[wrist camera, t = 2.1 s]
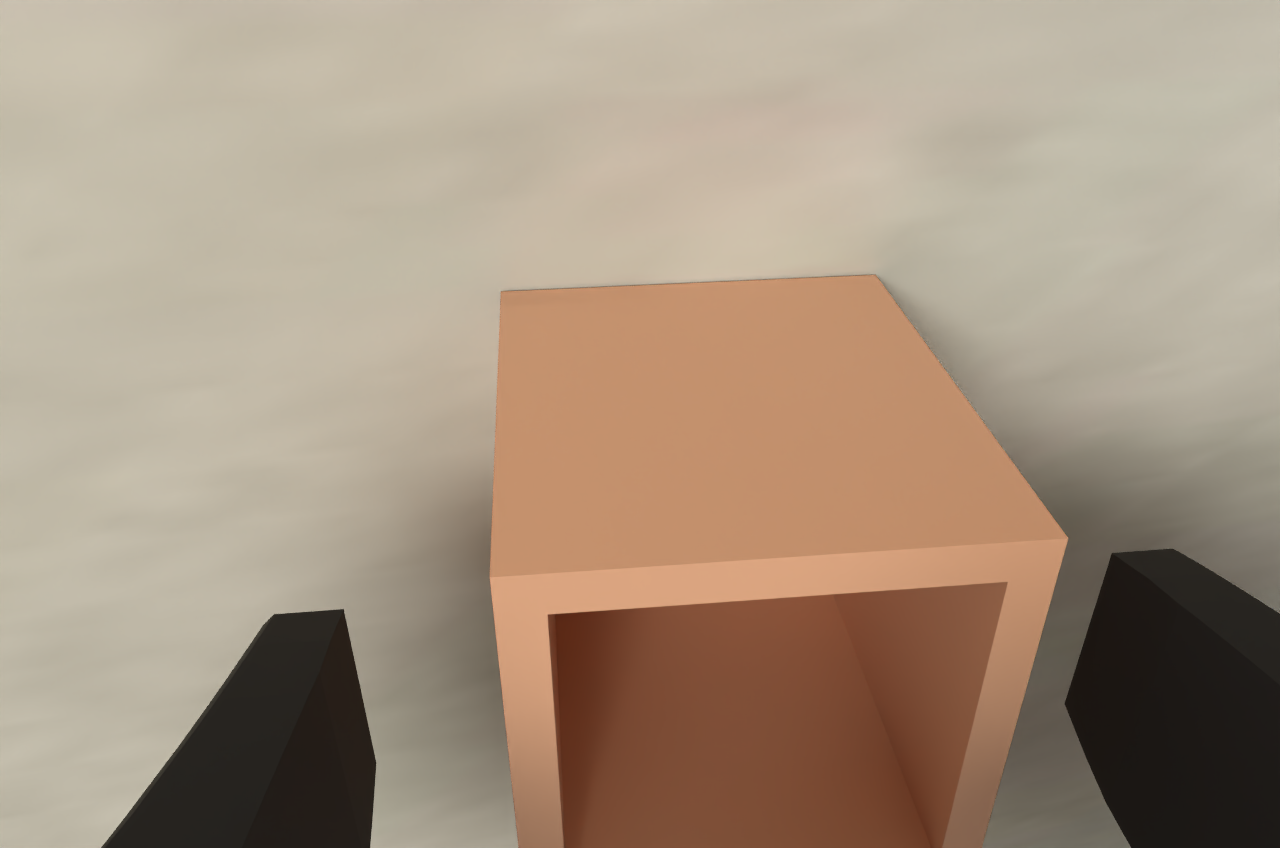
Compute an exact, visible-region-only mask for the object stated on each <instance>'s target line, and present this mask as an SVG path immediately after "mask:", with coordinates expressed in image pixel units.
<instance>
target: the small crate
mask: <svg viewBox="0 0 1280 848" xmlns="http://www.w3.org/2000/svg"><path fill="white" fill-rule="evenodd" d="M1067 541H1068V537H1067V536H1066V534H1065V533H1064V532H1063V530H1062V529H1061V528H1060V526H1059V525H1058V524H1057V522H1056V521H1055V519H1054V518H1053V517H1052V515H1051V514H1050V513H1049V511H1048V510H1047V508H1046V507H1045V506H1044V504H1043V503H1042V502H1041V500H1040V499H1039V498H1038V496H1037V495H1036V493H1035V492H1034V491H1033V489H1032V488H1031V487H1030V485H1029V484H1028V483H1027V481H1026V480H1025V478H1024V477H1023V476H1022V474H1021V473H1020V472H1019V470H1018V469H1017V467H1016V466H1015V465H1014V463H1013V462H1012V461H1011V459H1010V458H1009V457H1008V455H1007V454H1006V452H1005V451H1004V450H1003V448H1002V447H1001V446H1000V444H999V443H998V442H997V440H996V439H995V437H994V436H993V435H992V433H991V432H990V431H989V429H988V428H987V426H986V425H985V424H984V422H983V421H982V420H981V418H980V417H979V416H978V414H977V413H976V411H975V410H974V409H973V407H972V406H971V405H970V403H969V402H968V401H967V399H966V398H965V396H964V395H963V394H962V392H961V391H960V390H959V388H958V387H957V385H956V384H955V383H954V381H953V380H952V379H951V377H950V376H949V375H948V373H947V372H946V370H945V369H944V368H943V366H942V365H941V364H940V362H939V361H938V360H937V358H936V357H935V355H934V354H933V353H932V351H931V350H930V349H929V347H928V346H927V344H926V343H925V342H924V340H923V339H922V338H921V336H920V335H919V334H918V332H917V331H916V329H915V328H914V327H913V325H912V324H911V323H910V321H909V320H908V319H907V317H906V316H905V314H904V313H903V312H902V310H901V309H900V308H899V306H898V305H897V303H896V302H895V301H894V299H893V298H892V297H891V295H890V294H889V293H888V291H887V290H886V288H885V287H884V286H883V284H882V283H881V282H880V280H879V279H878V278H877V276H876V275H862V276H840V277H817V278H795V279H773V280H750V281H728V282H705V283H683V284H660V285H638V286H616V287H593V288H571V289H548V290H526V291H504V292H501V304H500V329H499V354H498V380H497V405H496V430H495V456H494V481H493V506H492V532H491V557H490V585H491V594H492V604H493V613H494V622H495V632H496V641H497V650H498V660H499V669H500V678H501V688H502V697H503V706H504V716H505V725H506V734H507V744H508V753H509V762H510V772H511V781H512V790H513V800H514V809H515V818H516V828H517V837H518V846H519V848H982V845H983V841H984V838H985V834H986V831H987V827H988V823H989V820H990V816H991V813H992V809H993V806H994V802H995V798H996V795H997V791H998V788H999V784H1000V781H1001V777H1002V773H1003V770H1004V766H1005V763H1006V759H1007V756H1008V752H1009V749H1010V745H1011V741H1012V738H1013V734H1014V731H1015V727H1016V724H1017V720H1018V716H1019V713H1020V709H1021V706H1022V702H1023V699H1024V695H1025V691H1026V688H1027V684H1028V681H1029V677H1030V674H1031V670H1032V666H1033V663H1034V659H1035V656H1036V652H1037V649H1038V645H1039V641H1040V638H1041V634H1042V631H1043V627H1044V624H1045V620H1046V616H1047V613H1048V609H1049V606H1050V602H1051V599H1052V595H1053V591H1054V588H1055V584H1056V581H1057V577H1058V574H1059V570H1060V566H1061V563H1062V559H1063V556H1064V552H1065V549H1066V545H1067Z"/></svg>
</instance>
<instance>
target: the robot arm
mask: <svg viewBox="0 0 1280 848" xmlns="http://www.w3.org/2000/svg"><path fill="white" fill-rule="evenodd" d="M1065 706H1066V708H1067V711H1068V713H1069V716H1070V718H1071V721H1072V723H1073V726H1074V728H1075V731H1076V733H1077V736H1078V738H1079V741H1080V743H1081V746H1082V748H1083V751H1084V753H1085V756H1086V758H1087V760H1088V763H1089V765H1090V767H1091V770H1092V772H1093V774H1094V776H1095V779H1096V781H1097V783H1098V785H1099V788H1100V790H1101V792H1102V795H1103V797H1104V799H1105V801H1106V803H1107V805H1108V807H1109V809H1110V811H1111V812H1112V814H1113V816H1114V818H1115V820H1116V821H1117V823H1118V825H1119V827H1120V829H1121V830H1122V832H1123V834H1124V836H1125V837H1126V839H1127V841H1128V843H1129V844H1130V846H1131V848H1280V614H1279V613H1277V612H1276V611H1274V610H1273V609H1271V608H1270V607H1268V606H1267V605H1265V604H1263V603H1262V602H1260V601H1259V600H1257V599H1256V598H1254V597H1252V596H1251V595H1249V594H1248V593H1246V592H1244V591H1243V590H1241V589H1240V588H1238V587H1237V586H1235V585H1233V584H1232V583H1230V582H1229V581H1227V580H1225V579H1224V578H1222V577H1220V576H1219V575H1217V574H1216V573H1214V572H1212V571H1211V570H1209V569H1207V568H1206V567H1204V566H1202V565H1201V564H1199V563H1197V562H1195V561H1194V560H1192V559H1190V558H1188V557H1187V556H1185V555H1183V554H1181V553H1180V552H1178V551H1176V550H1174V549H1163V550H1149V551H1135V552H1122V553H1112V555H1111V558H1110V561H1109V565H1108V568H1107V571H1106V574H1105V577H1104V580H1103V584H1102V587H1101V590H1100V593H1099V596H1098V600H1097V603H1096V606H1095V609H1094V612H1093V615H1092V619H1091V622H1090V625H1089V628H1088V631H1087V634H1086V638H1085V641H1084V644H1083V647H1082V650H1081V654H1080V657H1079V660H1078V663H1077V666H1076V669H1075V673H1074V676H1073V679H1072V682H1071V685H1070V688H1069V692H1068V695H1067V698H1066V701H1065ZM375 773H376V760H375V755H374V750H373V746H372V741H371V736H370V731H369V727H368V722H367V717H366V713H365V708H364V703H363V699H362V694H361V689H360V684H359V680H358V675H357V670H356V666H355V661H354V656H353V652H352V647H351V642H350V637H349V633H348V628H347V623H346V619H345V614H344V609H341V610H328V611H314V612H300V613H287V614H274V615H273V616H272V617H271V618H270V619H269V620H268V621H267V622H266V623H265V624H264V625H263V626H262V628H261V629H260V631H259V632H258V634H257V635H256V637H255V638H254V640H253V641H252V643H251V644H250V646H249V647H248V649H247V650H246V651H245V653H244V654H243V656H242V657H241V659H240V660H239V662H238V663H237V665H236V666H235V668H234V669H233V670H232V672H231V673H230V675H229V676H228V678H227V679H226V681H225V682H224V684H223V685H222V686H221V688H220V689H219V691H218V692H217V694H216V695H215V696H214V698H213V699H212V701H211V702H210V704H209V705H208V706H207V708H206V709H205V711H204V712H203V713H202V715H201V716H200V718H199V719H198V720H197V722H196V723H195V724H194V726H193V727H192V729H191V730H190V731H189V733H188V734H187V736H186V737H185V738H184V740H183V741H182V743H181V744H180V745H179V747H178V748H177V749H176V751H175V752H174V753H173V755H172V756H171V757H170V759H169V760H168V761H167V763H166V764H165V765H164V767H163V768H162V769H161V771H160V772H159V773H158V775H157V776H156V777H155V778H154V780H153V781H152V782H151V784H150V785H149V786H148V788H147V789H146V790H145V792H144V793H143V794H142V796H141V797H140V798H139V800H138V801H137V802H136V804H135V805H134V806H133V808H132V809H131V810H130V812H129V813H128V814H127V816H126V817H125V818H124V819H123V821H122V822H121V823H120V825H119V826H118V827H117V828H116V830H115V831H114V832H113V834H112V835H111V836H110V837H109V839H108V840H107V841H106V842H105V844H104V845H103V846H102V847H101V848H370V841H371V829H372V816H373V802H374V788H375Z"/></svg>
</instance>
